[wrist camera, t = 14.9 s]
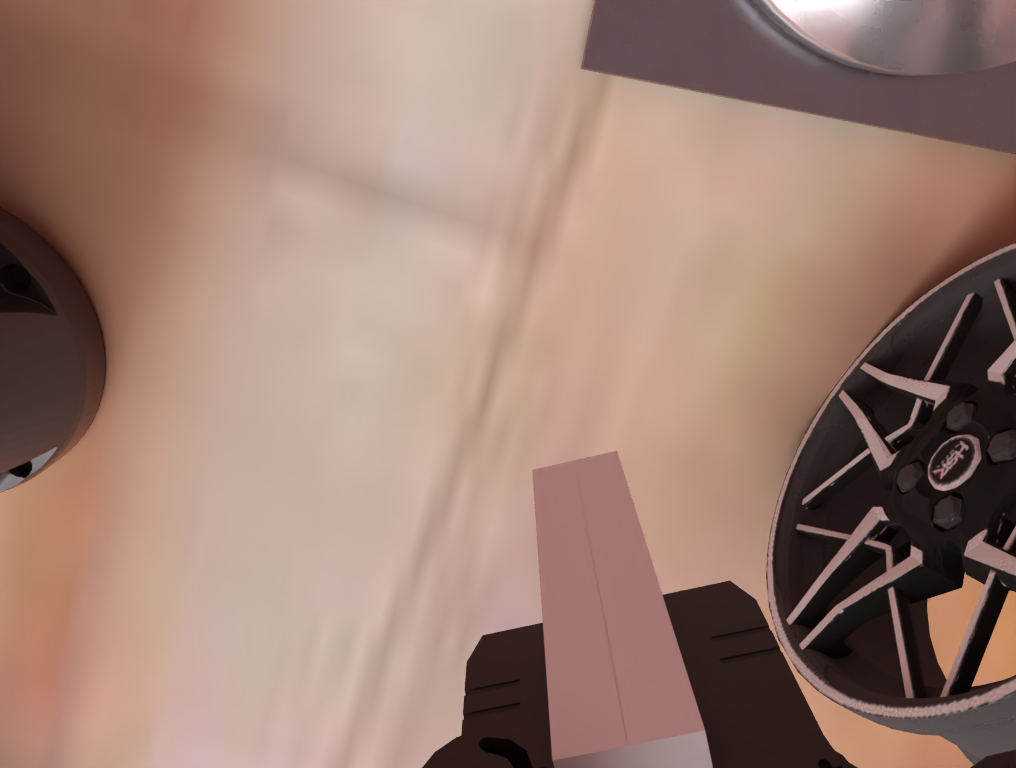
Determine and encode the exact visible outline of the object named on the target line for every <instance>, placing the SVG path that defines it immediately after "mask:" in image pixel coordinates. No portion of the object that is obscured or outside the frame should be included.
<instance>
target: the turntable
mask: <svg viewBox="0 0 1016 768" xmlns="http://www.w3.org/2000/svg"><path fill="white" fill-rule="evenodd" d="M753 1H754V2H755V3H756V4H757V5H758V7H759V8H760V9H761V10H762V11H763V12H764V14H765V15H766V16H767V17H768V18H770V19H771V20H772V21H773V22H774V23H775V24H777V25H778V26H779V27H780V28H781V29H782V30H784V31H785V32H786V33H787V34H788V35H789V36H791V37H792V38H794V39H795V40H797V41H799V42H800V43H802V44H803V45H805V46H807V47H808V48H810V49H811V50H813V51H815V52H816V53H818V54H821V55H823V56H825V57H828V58H830V59H832V60H835V61H837V62H839V63H841V64H844V65H847V66H851V67H855V68H859V69H862V70H866V71H870V72H874V73H882V74H891V75H900V76H924V75H944V74H956V73H964V72H970V71H976V70H983V69H989V68H994V67H998V66H1001V65H1004V64H1008V63H1011V62H1014V61H1016V0H753Z"/></svg>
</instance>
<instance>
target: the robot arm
mask: <svg viewBox="0 0 1016 768" xmlns="http://www.w3.org/2000/svg"><path fill="white" fill-rule="evenodd" d="M104 379H105V355H104V346H103V340H102V335H101V331H100V327H99V324H98V321H97V318H96V315H95V312H94V310H93V308H92V305H91V303H90V301H89V299H88V297H87V295H86V293H85V291H84V289H83V287H82V286H81V284H80V282H79V281H78V279H77V278H76V276H75V275H74V273H73V272H72V270H71V269H70V268H69V266H68V265H67V264H66V262H65V261H64V260H63V259H62V258H61V257H60V255H59V254H58V253H57V252H56V251H55V250H54V249H53V248H52V247H51V246H50V245H49V244H48V243H47V242H46V241H45V240H44V239H43V238H42V237H41V236H40V235H38V234H37V233H36V232H35V231H33V230H32V229H31V228H30V227H28V226H27V225H26V224H24V223H23V222H21V221H20V220H19V219H17V218H15V217H14V216H12V215H11V214H9V213H7V212H6V211H4V210H2V209H0V492H3V491H6V490H9V489H11V488H14V487H16V486H18V485H20V484H22V483H25V482H27V481H29V480H30V479H32V478H34V477H35V476H37V475H38V474H40V473H41V472H42V471H44V470H45V469H47V468H48V467H49V466H51V465H52V464H53V463H55V462H56V461H57V460H59V459H60V458H61V457H63V456H64V455H65V454H66V453H67V452H69V451H70V450H71V449H72V448H73V447H74V446H75V445H76V444H77V443H78V442H79V440H80V439H81V438H82V437H83V435H84V434H85V432H86V431H87V429H88V428H89V426H90V424H91V423H92V421H93V419H94V417H95V414H96V412H97V410H98V407H99V404H100V401H101V397H102V392H103V387H104ZM532 471H533V486H534V501H535V515H536V530H537V544H538V559H539V573H540V588H541V602H542V617H543V623H539V624H535V625H530V626H525V627H520V628H516V629H511V630H506V631H501V632H497V633H492V634H487V635H483V636H482V637H481V639H480V641H479V643H478V644H477V646H476V648H475V649H474V651H473V653H472V654H471V656H470V658H469V659H468V661H467V666H466V680H465V694H466V696H464V708H463V715H464V720H463V722H462V736H459V737H456V738H455V739H453V740H452V741H451V742H449V743H448V744H446V745H445V746H443V747H442V748H440V749H439V750H437V751H436V752H435V753H434V754H433V755H432V756H431V758H430V759H429V760H428V761H427V763H426V764H425V765H424V766H423V767H422V768H857V767H856V766H854V765H852V764H851V763H849V762H848V761H847V760H846V759H845V757H844V756H843V755H841V754H840V753H838V752H836V751H835V750H834V749H833V748H832V747H831V745H830V744H829V742H828V741H827V739H826V738H825V736H824V735H823V733H822V731H821V729H820V727H819V725H818V723H817V721H816V719H815V717H814V715H813V713H812V711H811V709H810V707H809V705H808V703H807V701H806V699H805V697H804V695H803V693H802V691H801V689H800V687H799V685H798V683H797V681H796V679H795V677H794V675H793V673H792V671H791V669H790V667H789V665H788V663H787V661H786V659H785V657H784V655H783V653H782V652H781V651H780V648H779V645H778V643H777V641H776V639H775V637H774V635H773V633H772V631H771V630H770V629H769V625H768V623H767V621H766V619H765V617H764V615H763V613H762V611H761V609H760V607H759V605H758V603H757V601H756V599H754V598H753V597H752V596H750V595H749V594H747V593H746V592H745V591H743V590H742V589H741V588H739V587H738V586H736V585H735V584H734V583H732V582H731V581H726V582H722V583H717V584H712V585H707V586H703V587H698V588H693V589H688V590H684V591H679V592H674V593H669V594H665V595H662V592H661V589H660V586H659V583H658V579H657V576H656V573H655V570H654V567H653V564H652V560H651V557H650V554H649V551H648V548H647V545H646V541H645V538H644V535H643V532H642V529H641V526H640V522H639V519H638V516H637V513H636V510H635V506H634V503H633V500H632V497H631V494H630V491H629V487H628V484H627V481H626V478H625V475H624V472H623V468H622V465H621V462H620V459H619V456H618V453H617V451H615V452H610V453H606V454H602V455H597V456H593V457H588V458H584V459H579V460H575V461H571V462H566V463H562V464H557V465H553V466H548V467H544V468H540V469H535V470H532ZM971 768H1016V750H1012V751H1007V752H1003V753H998V754H994V755H989V756H986V757H985V758H983V759H982V760H981V761H979V762H978V763H976V764H975V765H974V766H972V767H971Z"/></svg>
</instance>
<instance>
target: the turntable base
mask: <svg viewBox="0 0 1016 768" xmlns="http://www.w3.org/2000/svg"><path fill="white" fill-rule="evenodd" d="M581 69H584V70H589V71H594V72H599V73H604V74H610V75H615V76H620V77H625V78H630V79H635V80H640V81H645V82H650V83H655V84H660V85H666V86H671V87H676V88H681V89H686V90H691V91H696V92H701V93H706V94H711V95H716V96H722V97H727V98H732V99H737V100H742V101H747V102H752V103H757V104H762V105H767V106H772V107H778V108H783V109H788V110H793V111H798V112H803V113H808V114H813V115H818V116H823V117H829V118H834V119H839V120H844V121H849V122H854V123H859V124H864V125H869V126H874V127H879V128H885V129H890V130H895V131H900V132H905V133H910V134H915V135H920V136H925V137H930V138H935V139H941V140H946V141H951V142H956V143H961V144H966V145H971V146H976V147H981V148H986V149H991V150H997V151H1002V152H1007V153H1012V154H1016V61H1014V62H1011V63H1008V64H1004V65H1001V66H998V67H994V68H989V69H983V70H976V71H970V72H964V73H956V74H944V75H924V76H900V75H891V74H882V73H874V72H870V71H866V70H862V69H859V68H855V67H851V66H847V65H844V64H841V63H839V62H837V61H835V60H832V59H830V58H828V57H825V56H823V55H821V54H818V53H816V52H815V51H813V50H811V49H810V48H808V47H807V46H805V45H803V44H802V43H800V42H799V41H797V40H795V39H794V38H792V37H791V36H789V35H788V34H787V33H786V32H785V31H784V30H782V29H781V28H780V27H779V26H778V25H777V24H775V23H774V22H773V21H772V20H771V19H770V18H768V17H767V16H766V15H765V14H764V12H763V11H762V10H761V9H760V8H759V7H758V5H757V4H756V3H755V2H754V1H753V0H595V1H594V6H593V11H592V16H591V21H590V26H589V31H588V36H587V41H586V47H585V52H584V57H583V62H582V67H581Z"/></svg>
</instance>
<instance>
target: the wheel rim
mask: <svg viewBox="0 0 1016 768" xmlns="http://www.w3.org/2000/svg"><path fill="white" fill-rule="evenodd" d="M965 572H966V574H967V575H968V576H970V577H972V578H974V579H976V580H977V581H979V582H981V583H983V584H985V586H984V588H983V591H982V593H981V596H980V598H979V601H978V603H977V606H976V608H975V611H974V613H973V616H972V618H971V621H970V623H969V626H968V628H967V631H966V634H965V636H964V639H963V641H962V644H961V646H960V649H959V651H958V654H957V656H956V659H955V661H954V664H953V666H952V669H951V671H950V674H949V676H948V679H947V680H946V678H945V676H944V674H943V672H942V670H941V668H940V666H939V664H938V662H937V659H936V655H935V652H934V648H933V645H932V641H931V638H930V633H929V623H928V614H927V599H928V598H931V597H934V596H937V595H941V594H944V593H947V592H950V591H953V590H956V589H959V588H962V585H963V579H964V574H965ZM766 579H767V589H768V600H769V608H770V612H771V615H772V619H773V623H774V626H775V630H776V633H777V637H778V640H779V641H780V643H781V645H782V646H783V648H784V650H785V651H786V653H787V655H788V656H789V658H790V660H791V661H792V663H793V665H794V666H795V668H796V670H797V671H798V673H799V674H800V675H801V676H802V677H803V678H804V679H806V680H807V681H808V682H809V683H810V684H811V685H812V686H813V687H814V688H815V689H816V690H817V691H819V692H820V693H822V694H823V695H824V696H826V697H827V698H829V699H830V700H832V701H834V702H835V703H837V704H839V705H841V706H843V707H844V708H846V709H848V710H850V711H852V712H854V713H856V714H858V715H860V716H862V717H864V718H866V719H869V720H871V721H873V722H875V723H877V724H880V725H884V726H886V727H889V728H891V729H895V730H900V731H905V732H910V733H915V734H921V735H939V736H941V737H943V738H945V739H946V740H948V741H950V742H952V743H954V744H955V745H957V746H958V747H959V748H960V750H961V751H962V752H963V753H964V755H965V756H966V757H967V758H968V759H969V760H970V761H971V762H972V763H973V764H974V765H975V764H976V763H978V762H979V761H981V760H982V759H983V758H985V757H986V756H989V755H994V754H998V753H1003V752H1007V751H1012V750H1016V675H1015V676H1013V677H1010V678H1008V679H1005V680H1002V681H998V682H994V683H989V684H985V685H980V686H973V687H971V686H972V683H973V681H974V678H975V676H976V673H977V670H978V668H979V665H980V663H981V660H982V658H983V655H984V653H985V650H986V648H987V645H988V642H989V640H990V637H991V635H992V632H993V630H994V627H995V625H996V622H997V620H998V617H999V614H1000V612H1001V609H1002V607H1003V604H1004V602H1005V599H1006V597H1007V594H1008V591H1009V590H1011V591H1015V592H1016V242H1015V243H1013V244H1010V245H1008V246H1005V247H1003V248H1000V249H998V250H996V251H994V252H992V253H990V254H988V255H986V256H984V257H982V258H980V259H978V260H976V261H974V262H973V263H971V264H969V265H968V266H966V267H964V268H962V269H961V270H959V271H957V272H956V273H954V274H953V275H951V276H950V277H948V278H947V279H945V280H944V281H942V282H941V283H939V284H938V285H936V286H935V287H934V288H932V289H931V290H930V291H928V292H927V293H925V294H924V295H923V296H921V297H920V298H919V299H918V300H917V301H915V302H914V303H913V304H912V305H911V306H909V307H908V308H907V309H906V310H905V311H904V312H902V313H901V314H900V315H899V316H898V317H897V318H896V319H895V320H894V321H892V322H891V323H890V324H889V325H888V326H887V327H886V328H885V329H884V330H883V331H882V332H881V333H880V334H879V335H878V336H877V337H876V338H875V339H874V340H873V341H872V342H871V344H870V345H869V346H868V347H867V348H866V349H865V350H864V351H863V352H862V353H861V354H860V355H859V357H858V358H857V359H856V360H855V362H854V363H853V364H852V365H851V367H850V368H849V369H848V370H847V371H846V373H845V374H844V375H843V376H842V378H841V379H840V381H839V382H838V383H837V385H836V386H835V387H834V389H833V390H832V392H831V393H830V394H829V396H828V397H827V399H826V400H825V402H824V403H823V405H822V407H821V408H820V410H819V412H818V413H817V415H816V417H815V418H814V420H813V422H812V423H811V425H810V426H809V428H808V430H807V432H806V434H805V435H804V437H803V439H802V441H801V443H800V445H799V447H798V449H797V451H796V454H795V456H794V458H793V461H792V463H791V465H790V468H789V470H788V472H787V475H786V477H785V480H784V483H783V486H782V489H781V492H780V495H779V498H778V501H777V505H776V509H775V513H774V517H773V521H772V526H771V530H770V537H769V545H768V553H767V573H766Z"/></svg>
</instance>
